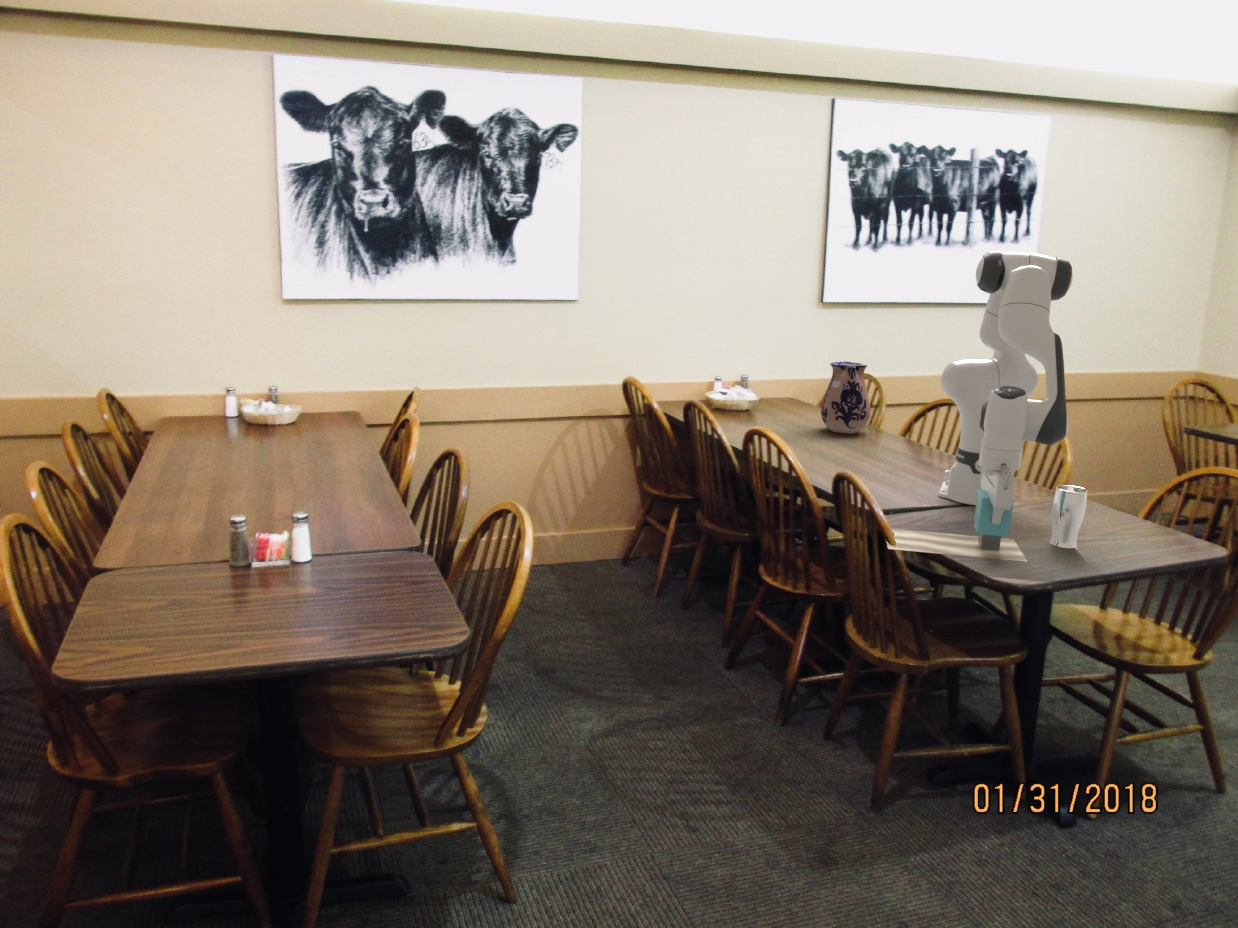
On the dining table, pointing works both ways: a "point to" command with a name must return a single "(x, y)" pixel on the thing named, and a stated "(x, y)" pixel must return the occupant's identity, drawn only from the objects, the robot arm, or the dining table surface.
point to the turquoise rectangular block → (984, 517)
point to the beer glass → (1067, 515)
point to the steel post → (989, 542)
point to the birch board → (953, 545)
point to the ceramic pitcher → (846, 399)
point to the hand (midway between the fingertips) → (992, 517)
